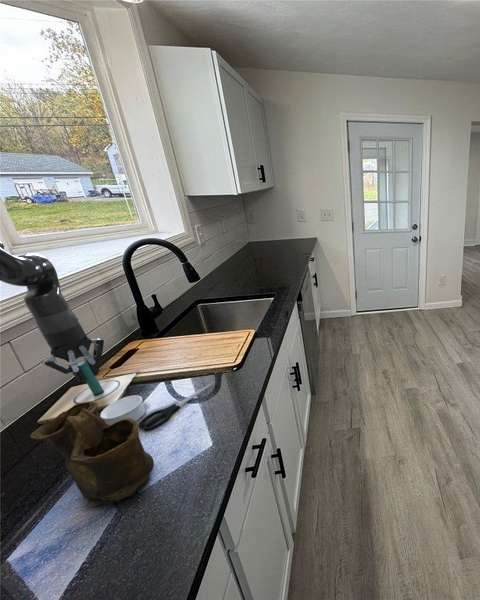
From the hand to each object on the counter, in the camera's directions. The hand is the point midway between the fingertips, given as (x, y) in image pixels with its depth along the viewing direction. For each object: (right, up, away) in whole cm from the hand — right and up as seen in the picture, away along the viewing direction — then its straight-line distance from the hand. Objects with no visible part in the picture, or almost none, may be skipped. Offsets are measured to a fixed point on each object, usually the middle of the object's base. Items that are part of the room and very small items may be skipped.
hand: (89, 377), depth 93 cm
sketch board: (-2, -7, +3) cm, 7 cm away
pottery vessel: (+33, -17, -26) cm, 46 cm away
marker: (0, -6, +2) cm, 6 cm away
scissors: (+30, -7, -4) cm, 31 cm away
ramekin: (+18, -10, -7) cm, 21 cm away
